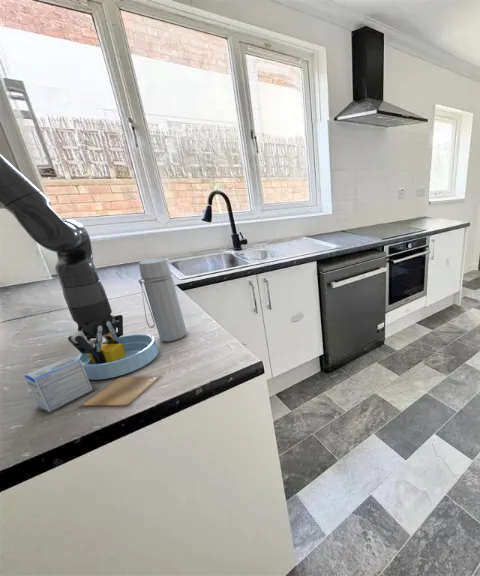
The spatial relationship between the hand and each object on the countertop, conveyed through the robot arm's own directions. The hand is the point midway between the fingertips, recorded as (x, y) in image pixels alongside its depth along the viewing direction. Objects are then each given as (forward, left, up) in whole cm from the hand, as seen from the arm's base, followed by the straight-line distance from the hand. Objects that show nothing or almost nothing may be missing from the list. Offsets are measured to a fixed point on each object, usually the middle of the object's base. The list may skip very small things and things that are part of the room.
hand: (109, 358), depth 84 cm
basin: (+3, 0, -2) cm, 3 cm away
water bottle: (+7, +14, -2) cm, 16 cm away
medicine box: (+2, -15, -2) cm, 15 cm away
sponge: (0, 0, 0) cm, 0 cm away
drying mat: (+13, -12, -2) cm, 18 cm away
